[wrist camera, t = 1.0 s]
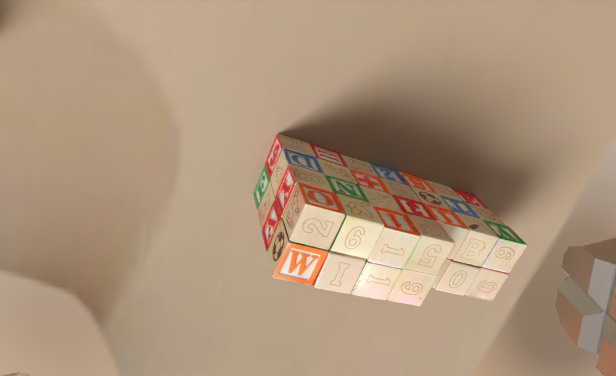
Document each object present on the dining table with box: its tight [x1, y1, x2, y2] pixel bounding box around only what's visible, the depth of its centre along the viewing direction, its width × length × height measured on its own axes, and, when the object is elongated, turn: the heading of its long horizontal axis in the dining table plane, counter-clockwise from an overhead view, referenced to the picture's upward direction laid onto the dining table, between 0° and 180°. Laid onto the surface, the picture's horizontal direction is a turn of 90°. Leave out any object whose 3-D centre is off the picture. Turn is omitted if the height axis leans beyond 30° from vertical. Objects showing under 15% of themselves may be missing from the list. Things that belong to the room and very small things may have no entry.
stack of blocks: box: [254, 134, 527, 306], centre depth 45 cm, size 21×6×12 cm, turn 68°
